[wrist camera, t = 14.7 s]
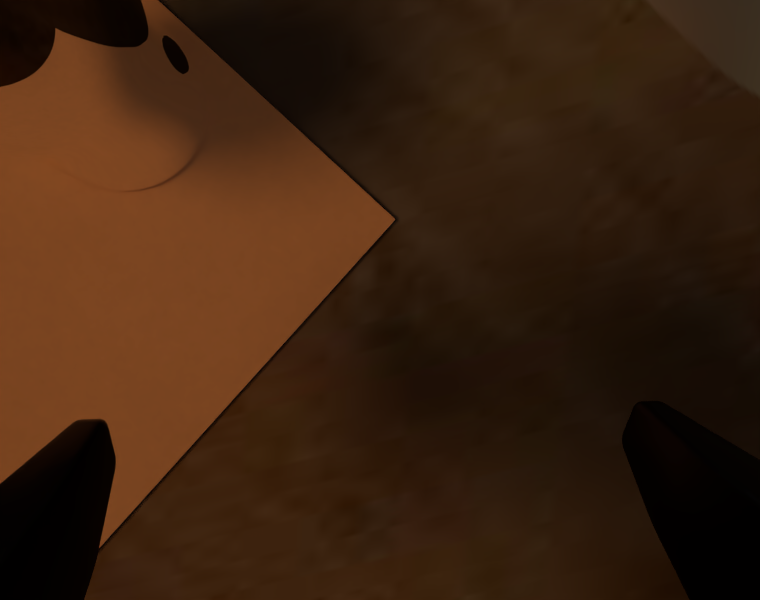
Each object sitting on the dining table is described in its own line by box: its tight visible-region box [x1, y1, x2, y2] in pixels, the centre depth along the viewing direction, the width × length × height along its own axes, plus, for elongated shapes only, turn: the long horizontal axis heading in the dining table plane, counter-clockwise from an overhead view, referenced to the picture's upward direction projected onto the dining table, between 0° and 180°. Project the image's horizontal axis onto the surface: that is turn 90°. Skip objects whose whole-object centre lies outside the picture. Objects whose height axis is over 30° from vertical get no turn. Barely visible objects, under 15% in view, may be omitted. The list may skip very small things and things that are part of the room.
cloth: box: [0, 0, 395, 548], centre depth 20 cm, size 20×15×1 cm
